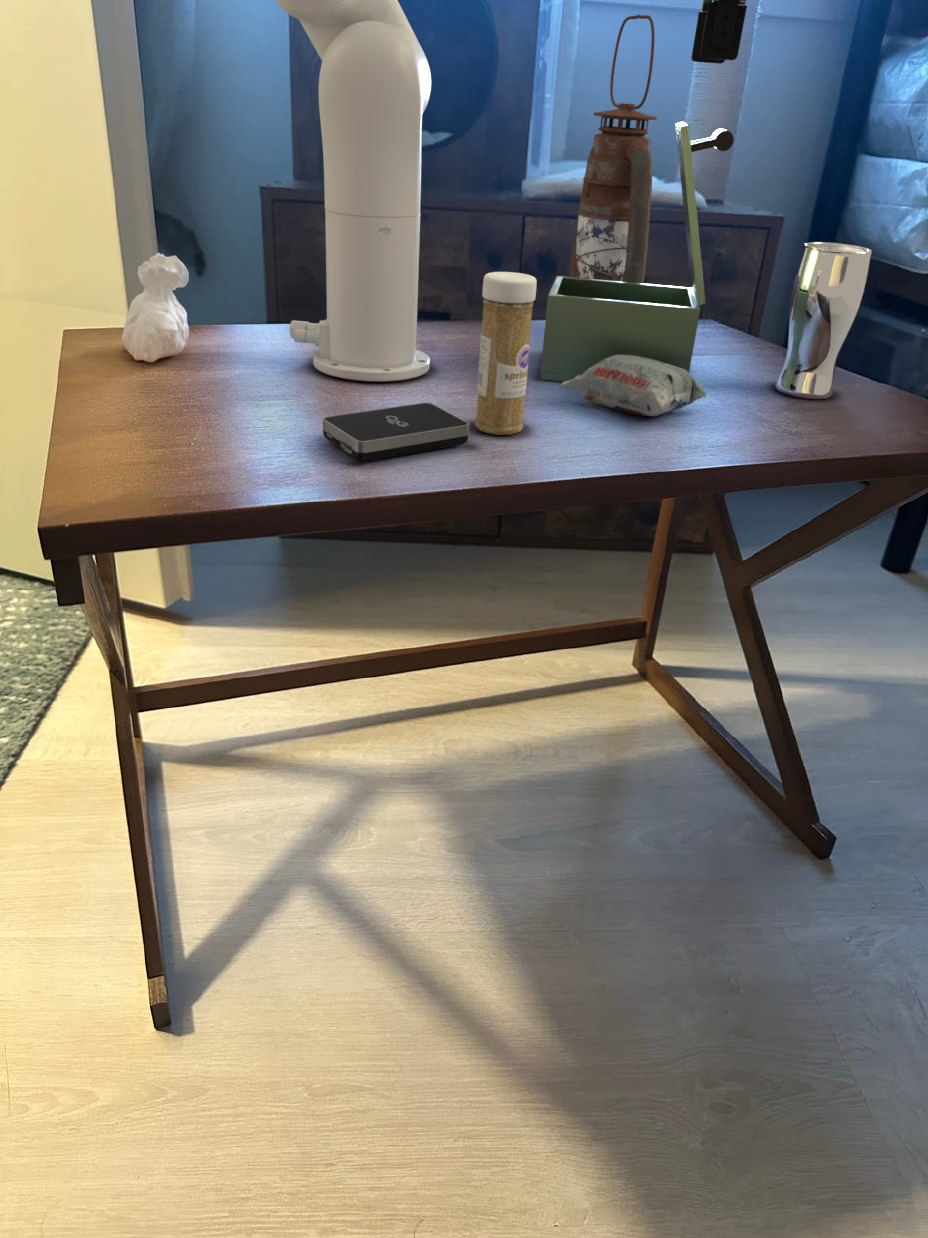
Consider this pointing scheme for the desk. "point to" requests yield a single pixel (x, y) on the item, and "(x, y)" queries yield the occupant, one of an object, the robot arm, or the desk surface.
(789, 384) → the beer glass
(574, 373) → the waste bin
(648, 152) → the lantern
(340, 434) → the external hard drive
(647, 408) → the packaged food
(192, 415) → the desk surface
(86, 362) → the desk surface
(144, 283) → the white tied sack
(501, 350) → the sprinkles bottle
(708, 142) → the bin lid
